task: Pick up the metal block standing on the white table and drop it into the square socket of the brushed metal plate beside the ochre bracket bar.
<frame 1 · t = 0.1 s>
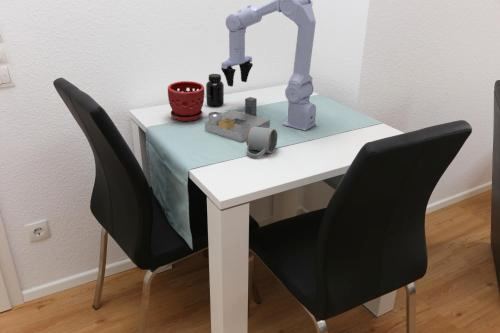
hand: (237, 83, 179), 10 cm above the table, tool pointing down, fingers open, 7 cm apart
ceramic mug: (260, 152, 148), on the table
plant pot: (187, 117, 175), on the table
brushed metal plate: (237, 129, 164), on the table
supplement bottle: (215, 105, 187), on the table
metal block: (250, 116, 176), on the table
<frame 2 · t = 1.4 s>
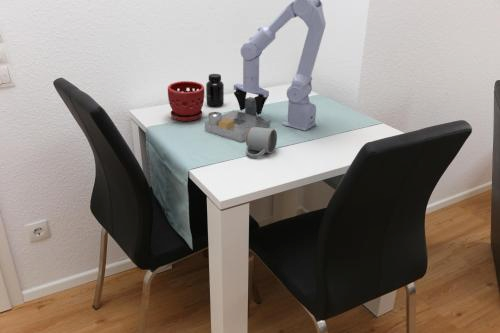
hand: (250, 111, 175), 2 cm above the table, tool pointing down, fingers open, 7 cm apart
nothing on the table moved.
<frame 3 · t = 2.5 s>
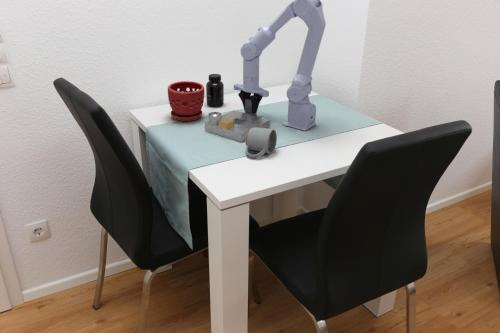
hand: (250, 111, 175), 2 cm above the table, tool pointing down, fingers closed on metal block, 3 cm apart
metal block: (250, 116, 176), on the table, touching gripper
everything else where it was.
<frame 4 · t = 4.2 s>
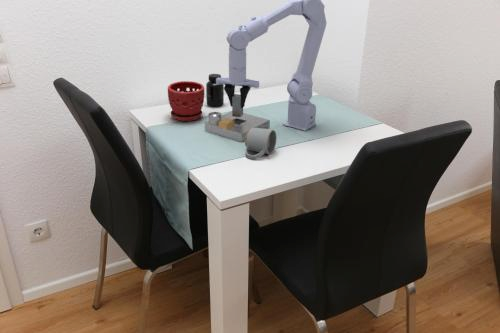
hand: (237, 106, 160), 8 cm above the table, tool pointing down, fingers closed on metal block, 3 cm apart
metal block: (237, 115, 162), point 5 cm above the table, touching gripper
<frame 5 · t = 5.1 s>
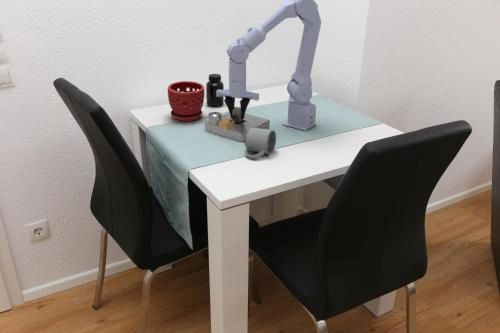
hand: (237, 118, 162), 4 cm above the table, tool pointing down, fingers closed on metal block, 3 cm apart
metal block: (237, 127, 164), point 1 cm above the table, touching gripper
when the fingers open (4 cm above the table, at t = 5.8 s): metal block stays where it is, resting in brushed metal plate.
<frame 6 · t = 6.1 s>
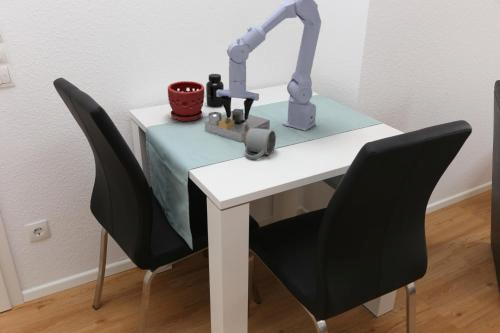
hand: (237, 118, 162), 4 cm above the table, tool pointing down, fingers open, 6 cm apart
metal block: (237, 129, 164), resting in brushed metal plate
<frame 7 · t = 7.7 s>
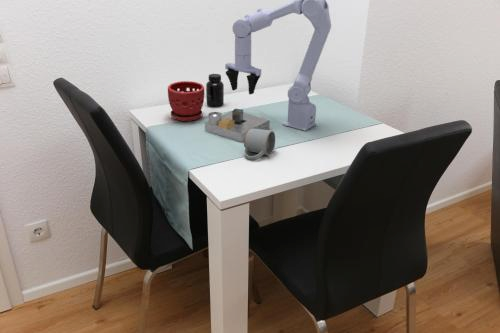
hand: (242, 91, 170), 10 cm above the table, tool pointing down, fingers open, 7 cm apart
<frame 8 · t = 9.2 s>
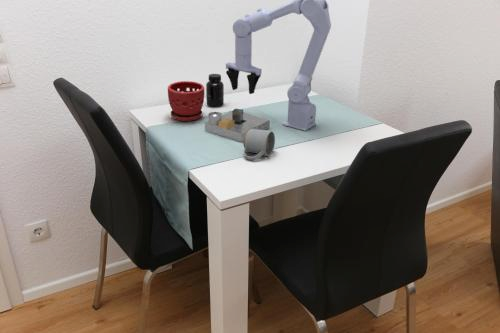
hand: (243, 91, 171), 10 cm above the table, tool pointing down, fingers open, 7 cm apart
at the end: metal block 0.1 cm off-centre on the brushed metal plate, point 0.0 cm above the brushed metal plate's base; metal block tilted 0°; the gripper is holding nothing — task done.
